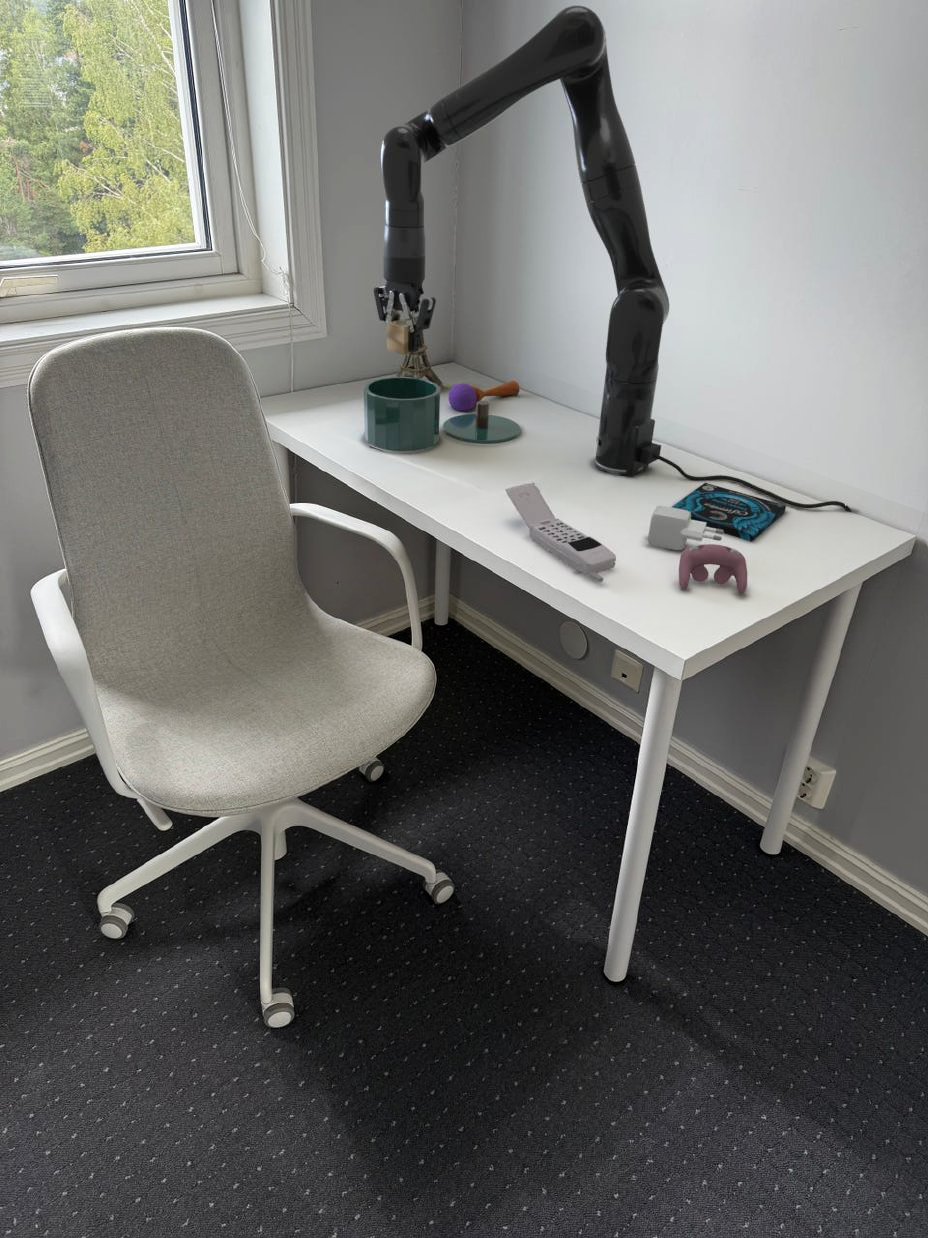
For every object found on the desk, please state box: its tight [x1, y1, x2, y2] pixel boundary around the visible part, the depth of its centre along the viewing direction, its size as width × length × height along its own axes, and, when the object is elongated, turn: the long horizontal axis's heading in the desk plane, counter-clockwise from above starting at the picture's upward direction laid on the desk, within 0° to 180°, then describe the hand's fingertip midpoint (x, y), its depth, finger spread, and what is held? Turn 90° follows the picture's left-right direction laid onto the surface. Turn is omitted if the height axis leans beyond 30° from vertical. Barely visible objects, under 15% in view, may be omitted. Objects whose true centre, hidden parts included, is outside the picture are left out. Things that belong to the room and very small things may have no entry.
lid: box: [442, 400, 521, 444], centre depth 185 cm, size 16×16×6 cm
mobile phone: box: [504, 482, 617, 583], centre depth 142 cm, size 6×6×25 cm
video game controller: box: [678, 543, 748, 595], centre depth 134 cm, size 10×5×7 cm, turn 84°
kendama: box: [448, 380, 521, 412], centre depth 200 cm, size 6×6×20 cm
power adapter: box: [647, 505, 725, 551], centre depth 143 cm, size 11×5×6 cm, turn 69°
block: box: [386, 318, 420, 355], centre depth 170 cm, size 4×4×5 cm
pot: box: [363, 376, 441, 453], centre depth 178 cm, size 15×15×10 cm
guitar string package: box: [671, 482, 787, 543], centre depth 156 cm, size 15×1×15 cm
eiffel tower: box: [394, 311, 448, 392], centre depth 202 cm, size 11×11×25 cm
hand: (403, 348), depth 171 cm, fingers closed on block, 4 cm apart
